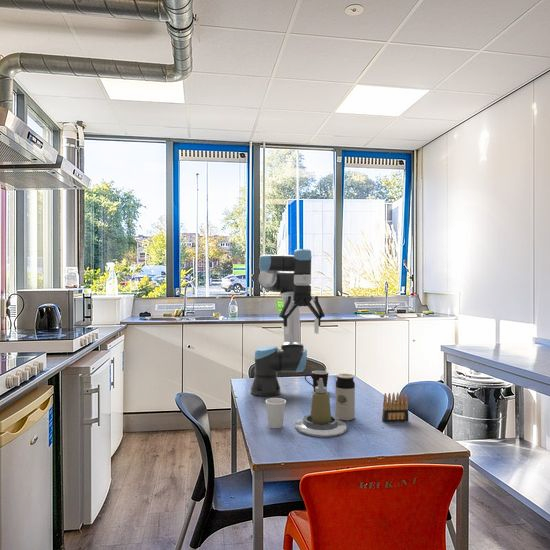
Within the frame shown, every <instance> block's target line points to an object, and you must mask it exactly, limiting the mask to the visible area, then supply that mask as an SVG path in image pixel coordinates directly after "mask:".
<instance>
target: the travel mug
mask: <svg viewBox="0 0 550 550" xmlns="http://www.w3.org/2000/svg"><path fill="white" fill-rule="evenodd" d="M336 377H337V379H336V382H335V417H336V418H338V419H339V420H341V421H352V420H354V419H355V417H356V416H355V414H356V412H355V409H356V408H355V407H356V406H355V404H356V396H355V395H356V394H355V391H356V383H355V381H354V378H355V375H354V374H351V373H346V372H345V373H337V374H336Z"/></svg>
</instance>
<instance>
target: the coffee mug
mask: <svg viewBox="0 0 550 550" xmlns="http://www.w3.org/2000/svg"><path fill="white" fill-rule="evenodd" d="M308 376H310V377H311V379H312V383H311V382H309V380H307V377H308ZM319 378H322V379H323V384H324V387H326V388H327V387H328V381H329V380H328V379H329V371H327V370H313V371H311V373H310V374H308V373H307V374H305V375H304V380H305V382H307V383H308V384H309V385H311V386H312V387H313V393H314V392H315V387H317V386H318V383H319ZM327 389H328V388H327Z"/></svg>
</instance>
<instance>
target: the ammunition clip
mask: <svg viewBox="0 0 550 550" xmlns="http://www.w3.org/2000/svg"><path fill="white" fill-rule="evenodd" d="M382 404H383V407H382V408H383V409H382V415H381V416H382V418H381V421H382V423H384V422H393V423H408V422H407V421H409V422H410V420H409V403H408V394H407V392H405V393H404V394H403V392H401V393H400V394H399V392H397V393H396V395H395V392H393V393H392V395H391V392H388V396H387V393H386V392H385V393H384V395H383V403H382ZM405 421H406V422H405Z"/></svg>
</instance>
